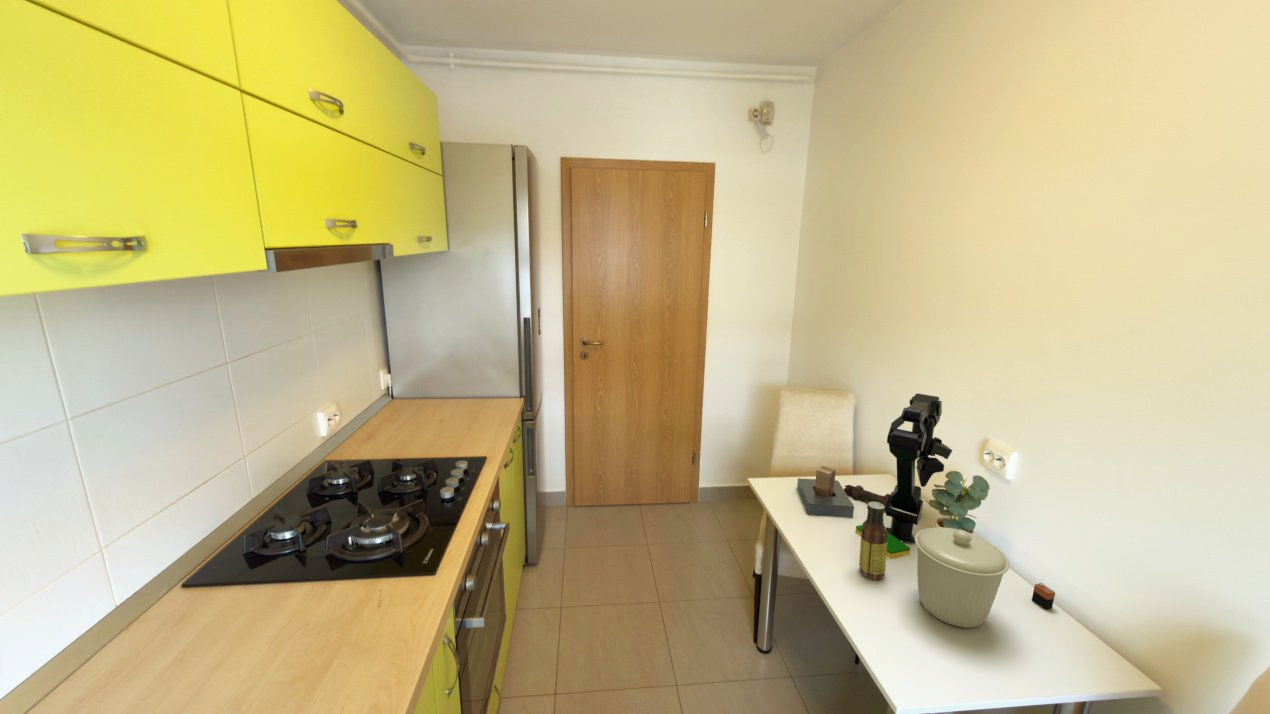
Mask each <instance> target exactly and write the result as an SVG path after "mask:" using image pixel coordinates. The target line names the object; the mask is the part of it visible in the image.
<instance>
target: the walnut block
mask: <svg viewBox="0 0 1270 714" xmlns="http://www.w3.org/2000/svg"><path fill="white" fill-rule="evenodd" d="M815 479H816V483H815V493H816V495H817V496H831V497H833V494H834V483H835V480H836V469H833V468H831V467H828V466H825V465H822V466H820V467H818V468H817V469H816V474H815Z"/></svg>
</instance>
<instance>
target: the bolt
mask: <svg viewBox="0 0 1270 714" xmlns="http://www.w3.org/2000/svg"><path fill="white" fill-rule="evenodd" d="M844 487H845V488H844ZM844 487H843V489H844V491H845V493H846V494H847V495H850V496H852V498H853V499H855V500H865V501H867V502H868V503H869V502H879V503H881V504H883V505H884V506H885V509H886V504H887V500H888V496H889V495H890V494H891V493H887V494H885V495H881V494H877V493H874V492H871V491H868V490H866V489H864V487H863V486H862V485H858V484H857V485H855V486H854V485H851V484H847V485H844Z"/></svg>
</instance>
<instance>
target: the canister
mask: <svg viewBox="0 0 1270 714" xmlns="http://www.w3.org/2000/svg"><path fill="white" fill-rule="evenodd" d="M914 538H915V542H914V543H915V545H916V547H917V568H916V569H917V592H918V597H919V600H920V602H921V604H922V605H923V607H924V608H925V609H926V610H927V612H928V613H930V614H931V616H933V617H935V618H936V619H939V620H940V621H942V622H943V623H946V624H949V625H952V626H954V627H955V626H956V627H958V628H969V629H970V628H976V627H978V626H981V625H982V624H983V623H984V622H985V621H986V620H987V619H988V616H989V614H990V612H991V609H992V606H993V604H994V602H995V599H996V597H997V593H998V590H999V588H1000V584H1001V582H1002V579H1003V576H1004V574H1005V573H1007V572H1008V571H1009V569H1010V562H1009V561H1010V560H1009V559H1008V558H1007V556H1006V555H1005V554H1004V552H1002V551H1001V550H1000V549H999V548H997V547H996V545H993V544H992V543H991V542H989V541H988V540H985V539H984V538H982V537H980V536H978V535H975V534H973V533H971V532H968V531H966V530H963V529H958V528H953V527H942V526H941V527H940V526H938V527H928V528H924V529H921V530H919V531H918V532H916V534H915V536H914Z"/></svg>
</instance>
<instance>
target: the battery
mask: <svg viewBox="0 0 1270 714" xmlns="http://www.w3.org/2000/svg"><path fill="white" fill-rule="evenodd" d="M1055 596H1056V592H1055V591H1054V590H1053V589H1051V588H1049V587H1047V586H1046V585H1045V584H1044V583H1042V582H1039V583H1037V584H1034V586H1033V591H1032V596H1031V597H1032V598H1031V601H1032V602H1034V603H1035V604H1036V605H1037V606H1040V607H1041V609H1044V610H1051V609H1053V605H1054V601H1055Z"/></svg>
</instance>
